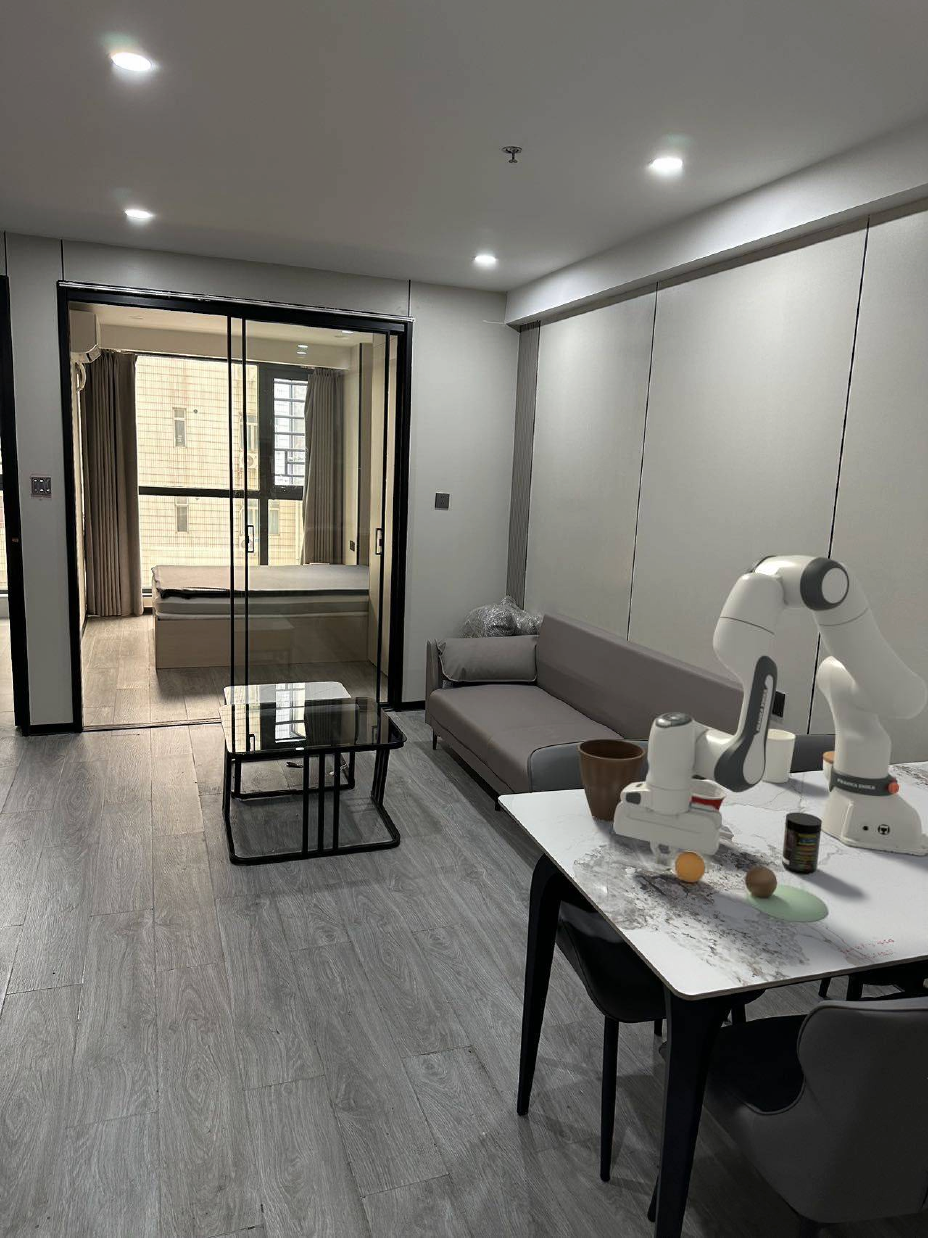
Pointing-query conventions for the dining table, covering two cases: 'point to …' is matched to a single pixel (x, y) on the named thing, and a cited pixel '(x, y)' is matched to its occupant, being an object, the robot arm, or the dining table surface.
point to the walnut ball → (761, 881)
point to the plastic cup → (708, 793)
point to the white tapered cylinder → (778, 756)
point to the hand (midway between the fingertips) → (663, 864)
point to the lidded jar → (828, 763)
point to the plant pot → (608, 773)
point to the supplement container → (801, 843)
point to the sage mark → (790, 904)
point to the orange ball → (690, 867)
